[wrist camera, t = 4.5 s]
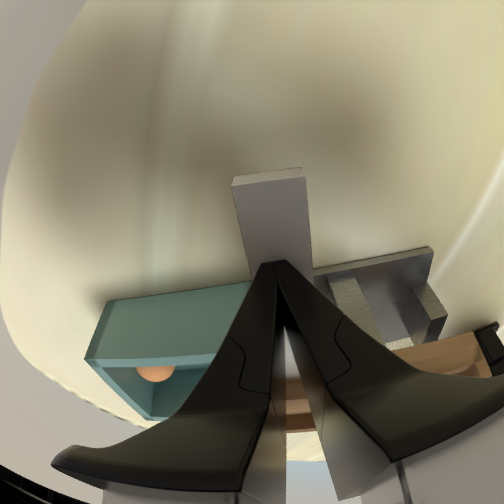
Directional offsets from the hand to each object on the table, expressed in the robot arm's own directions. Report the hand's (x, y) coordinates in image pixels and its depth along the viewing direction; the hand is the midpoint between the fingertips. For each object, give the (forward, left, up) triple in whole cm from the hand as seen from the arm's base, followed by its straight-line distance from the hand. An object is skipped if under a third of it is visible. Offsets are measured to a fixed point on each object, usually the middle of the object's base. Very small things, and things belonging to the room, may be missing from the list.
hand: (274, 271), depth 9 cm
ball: (-10, +9, -4) cm, 14 cm away
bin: (-10, +6, -6) cm, 13 cm away
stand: (-10, -5, -6) cm, 12 cm away
